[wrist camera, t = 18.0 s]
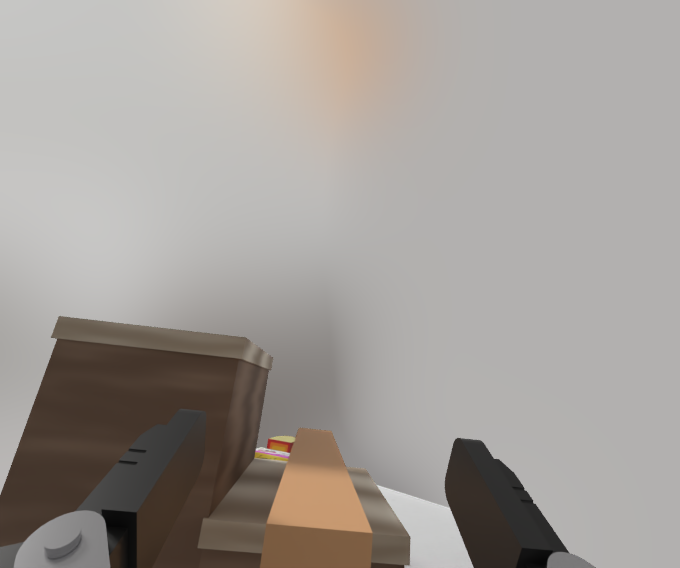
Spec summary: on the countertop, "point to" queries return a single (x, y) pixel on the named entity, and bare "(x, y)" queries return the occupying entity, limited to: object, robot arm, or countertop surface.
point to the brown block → (316, 511)
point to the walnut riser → (158, 408)
